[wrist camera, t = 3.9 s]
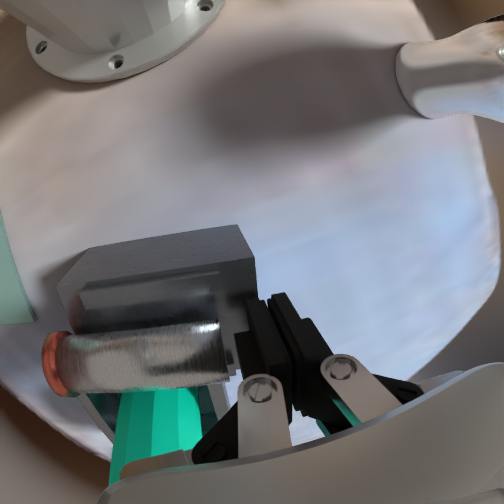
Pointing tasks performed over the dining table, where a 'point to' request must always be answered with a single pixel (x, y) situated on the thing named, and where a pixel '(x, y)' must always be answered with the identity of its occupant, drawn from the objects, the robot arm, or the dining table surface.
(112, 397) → the housing
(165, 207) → the dining table surface
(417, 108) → the beer glass
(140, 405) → the candle
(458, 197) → the dining table surface
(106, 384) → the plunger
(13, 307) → the pad
